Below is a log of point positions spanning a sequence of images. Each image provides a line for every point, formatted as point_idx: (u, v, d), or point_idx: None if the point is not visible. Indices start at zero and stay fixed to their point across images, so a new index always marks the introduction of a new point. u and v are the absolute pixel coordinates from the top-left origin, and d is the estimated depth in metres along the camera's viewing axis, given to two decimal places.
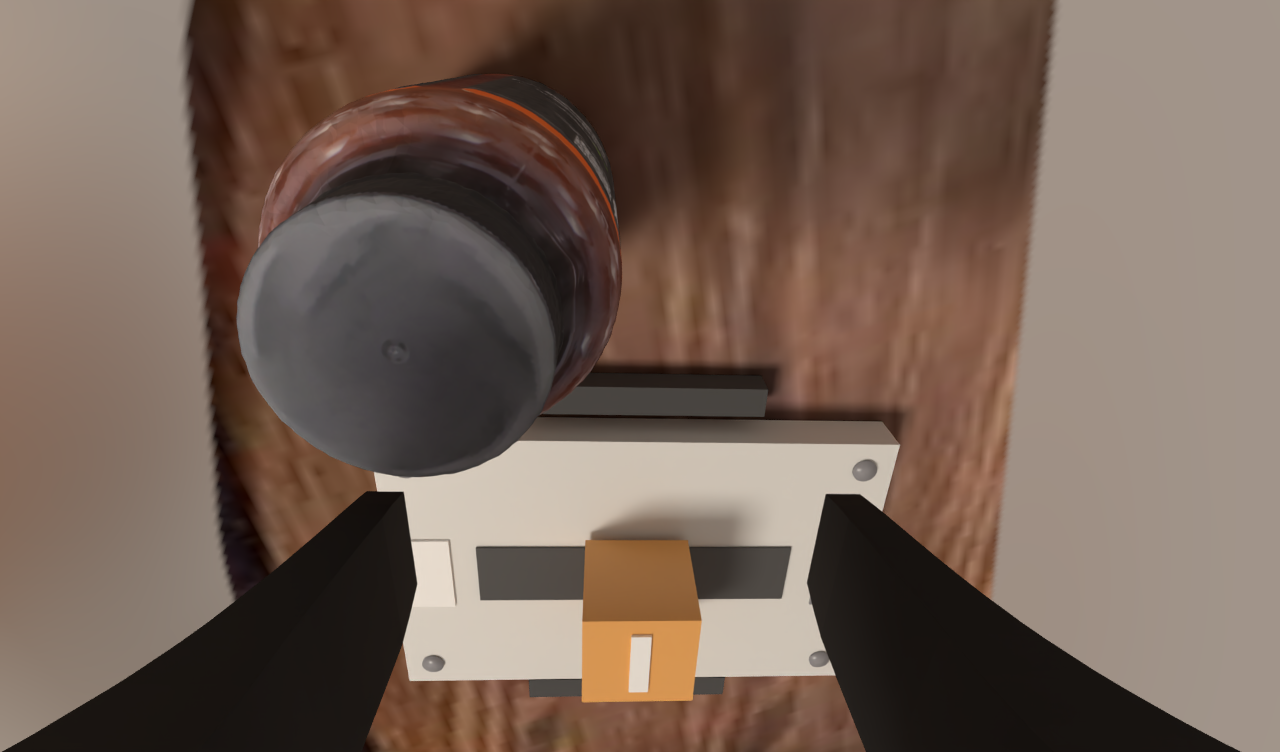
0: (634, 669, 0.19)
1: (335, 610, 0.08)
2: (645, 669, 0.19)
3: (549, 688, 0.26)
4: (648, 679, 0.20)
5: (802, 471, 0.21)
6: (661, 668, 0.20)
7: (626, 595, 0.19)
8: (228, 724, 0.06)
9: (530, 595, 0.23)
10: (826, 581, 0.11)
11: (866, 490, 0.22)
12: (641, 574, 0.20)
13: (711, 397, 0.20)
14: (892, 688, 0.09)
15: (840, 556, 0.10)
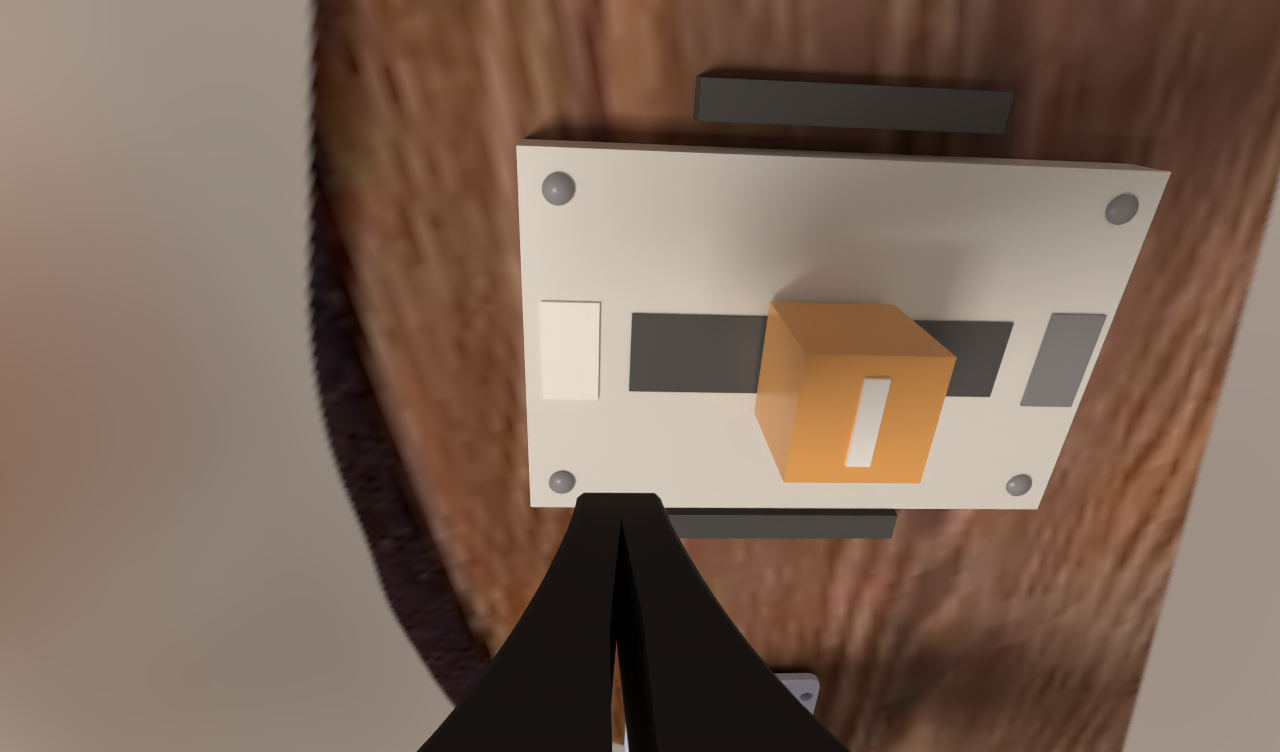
0: (857, 432, 0.15)
1: (613, 608, 0.08)
2: (873, 431, 0.15)
3: (690, 526, 0.22)
4: (872, 449, 0.15)
5: (1044, 210, 0.17)
6: (891, 432, 0.15)
7: (848, 338, 0.15)
8: None
9: (689, 386, 0.19)
10: None
11: (1118, 241, 0.17)
12: (856, 324, 0.16)
13: (943, 102, 0.16)
14: (634, 692, 0.08)
15: (620, 556, 0.10)
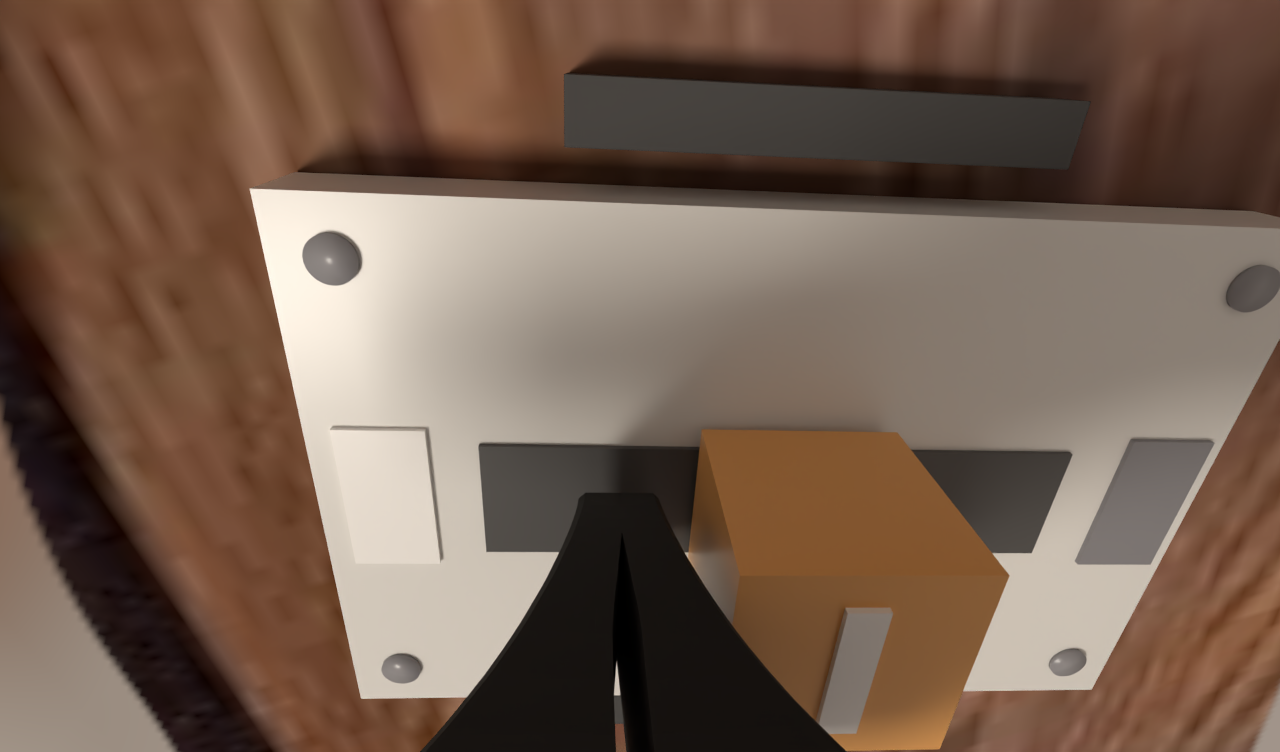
0: (834, 685, 0.09)
1: (615, 608, 0.08)
2: (861, 686, 0.09)
3: None
4: (860, 707, 0.09)
5: (1130, 290, 0.11)
6: (893, 683, 0.09)
7: (818, 524, 0.09)
8: None
9: None
10: None
11: (1241, 335, 0.11)
12: (834, 486, 0.10)
13: (971, 118, 0.10)
14: (631, 692, 0.08)
15: None
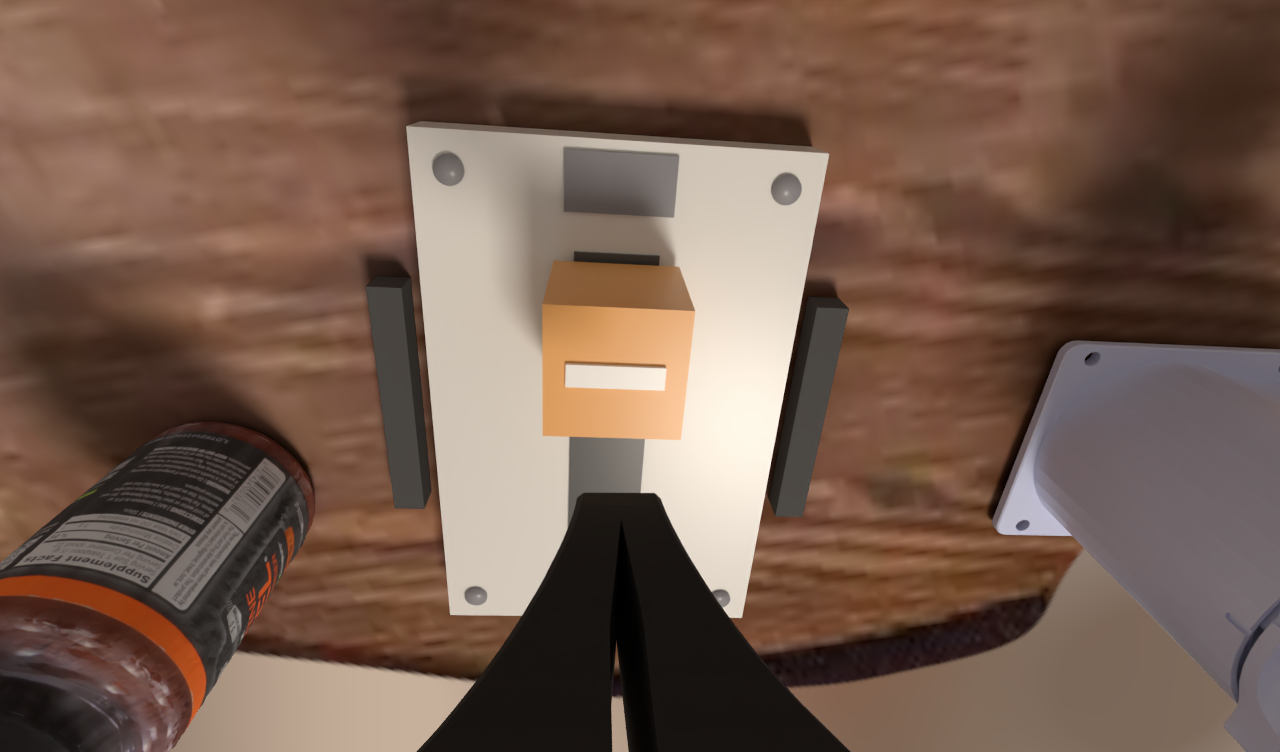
0: (626, 383, 0.15)
1: (613, 608, 0.08)
2: (624, 371, 0.15)
3: (792, 498, 0.23)
4: (647, 366, 0.15)
5: (457, 248, 0.18)
6: (627, 351, 0.15)
7: None
8: None
9: None
10: None
11: (481, 161, 0.17)
12: None
13: (384, 343, 0.19)
14: (633, 692, 0.08)
15: (620, 556, 0.10)
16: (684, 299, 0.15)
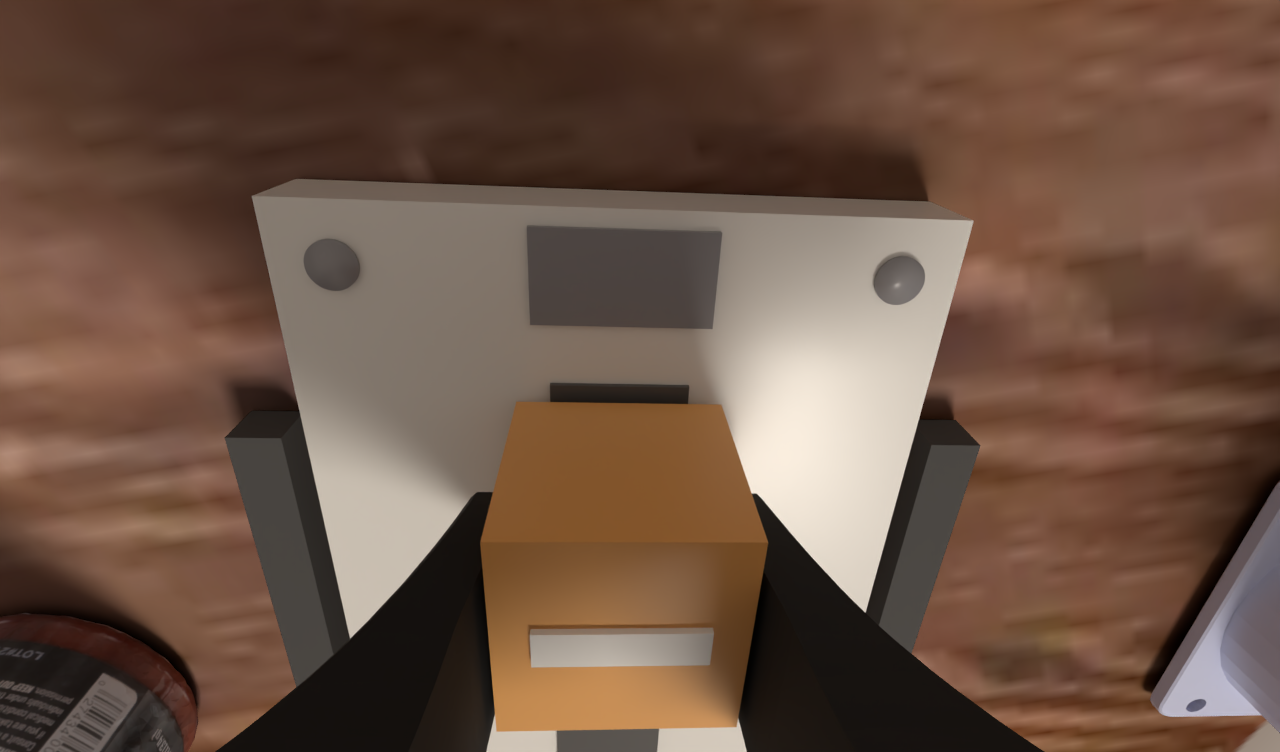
0: (642, 653, 0.09)
1: (477, 609, 0.08)
2: (636, 640, 0.08)
3: None
4: (677, 628, 0.08)
5: (360, 384, 0.11)
6: (643, 607, 0.08)
7: None
8: (423, 721, 0.06)
9: None
10: None
11: (387, 249, 0.10)
12: None
13: (263, 515, 0.12)
14: (763, 690, 0.08)
15: None
16: (743, 503, 0.09)
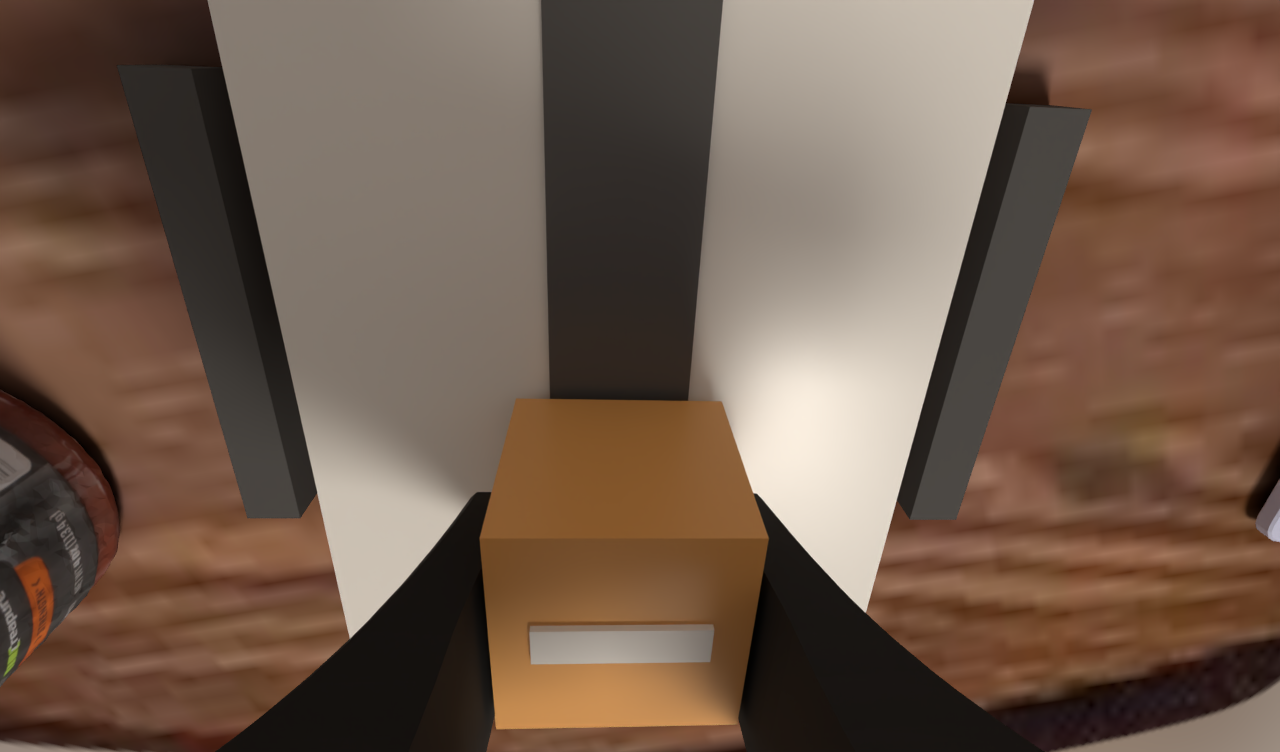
0: (642, 650, 0.09)
1: (477, 609, 0.08)
2: (636, 636, 0.08)
3: (943, 487, 0.13)
4: (677, 625, 0.08)
5: None
6: (643, 604, 0.08)
7: None
8: (423, 721, 0.06)
9: None
10: None
11: None
12: None
13: (175, 196, 0.10)
14: (763, 690, 0.08)
15: None
16: (743, 499, 0.08)
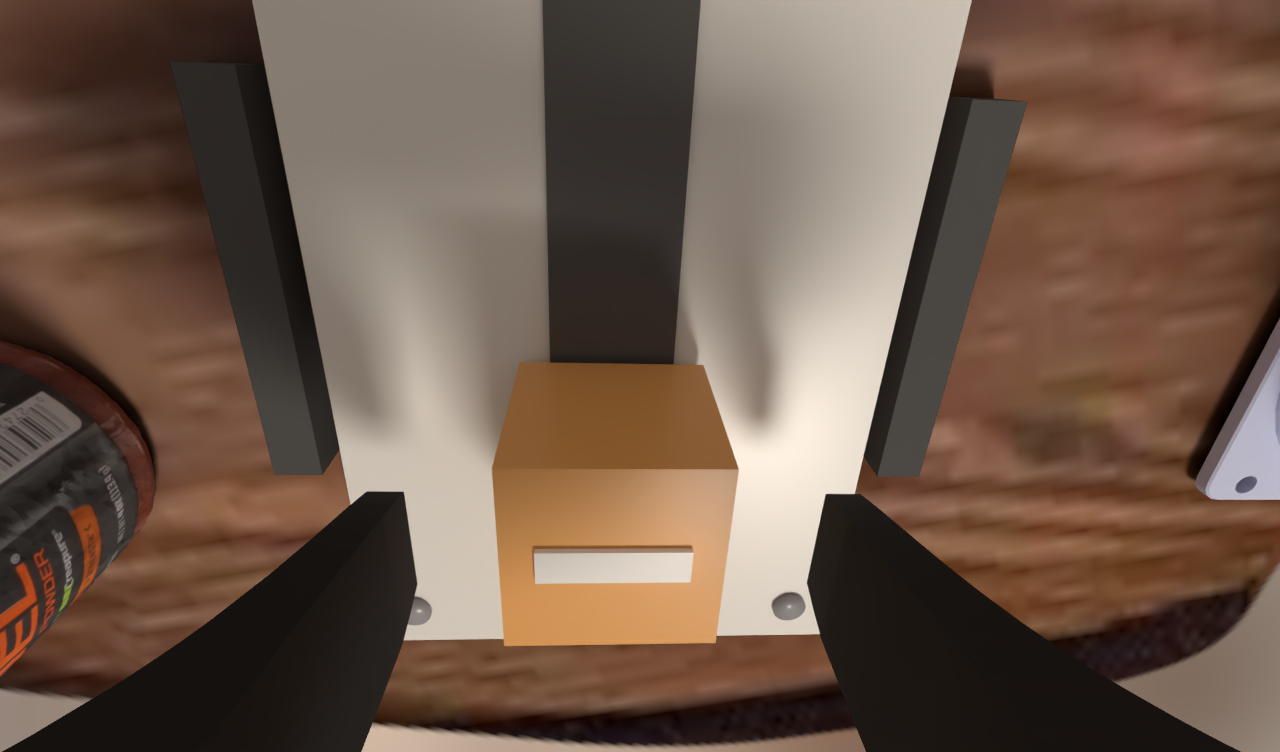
0: (631, 572, 0.10)
1: (335, 610, 0.08)
2: (626, 558, 0.10)
3: (906, 446, 0.14)
4: (662, 548, 0.10)
5: None
6: (632, 529, 0.09)
7: None
8: (228, 724, 0.06)
9: None
10: (826, 581, 0.11)
11: None
12: None
13: (218, 178, 0.11)
14: (892, 688, 0.09)
15: (840, 556, 0.10)
16: (718, 440, 0.10)
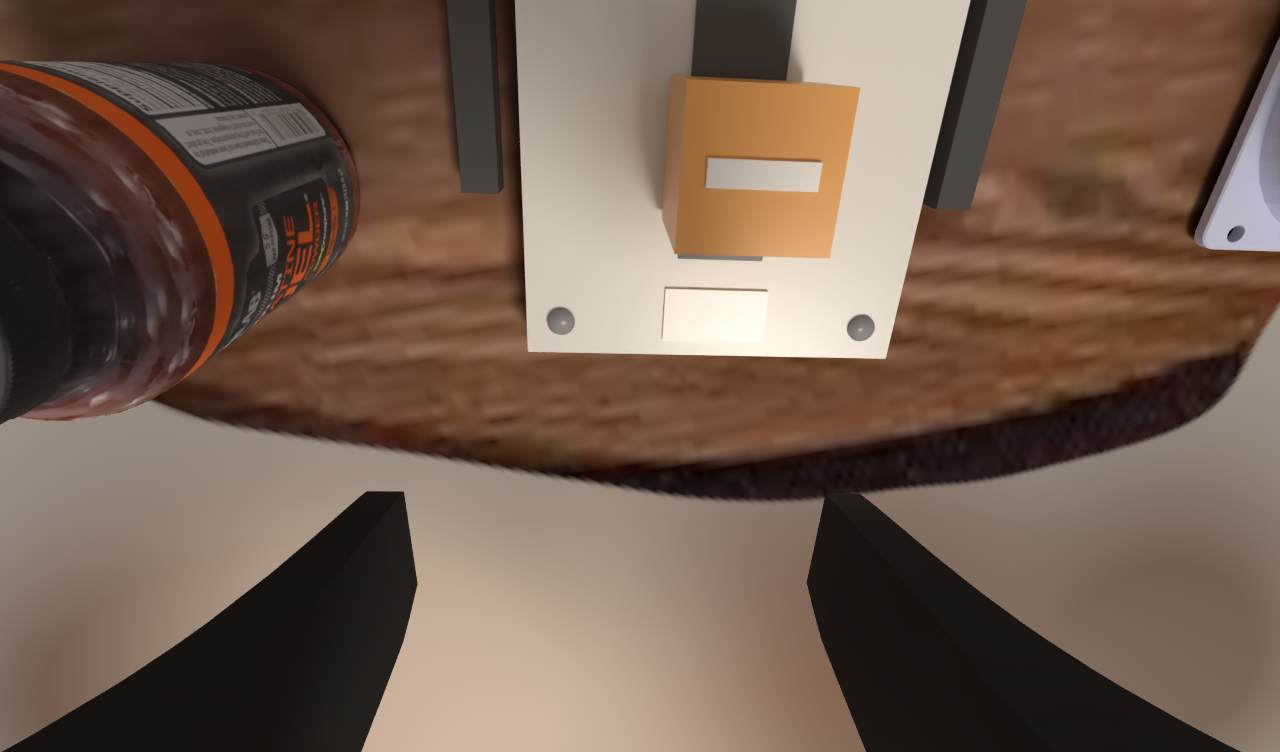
0: (775, 183, 0.13)
1: (335, 610, 0.08)
2: (774, 166, 0.13)
3: (960, 180, 0.18)
4: (800, 161, 0.13)
5: None
6: (779, 141, 0.13)
7: (674, 185, 0.14)
8: (228, 724, 0.06)
9: None
10: (826, 581, 0.11)
11: None
12: (671, 155, 0.15)
13: None
14: (892, 688, 0.09)
15: (840, 556, 0.10)
16: (839, 85, 0.13)
